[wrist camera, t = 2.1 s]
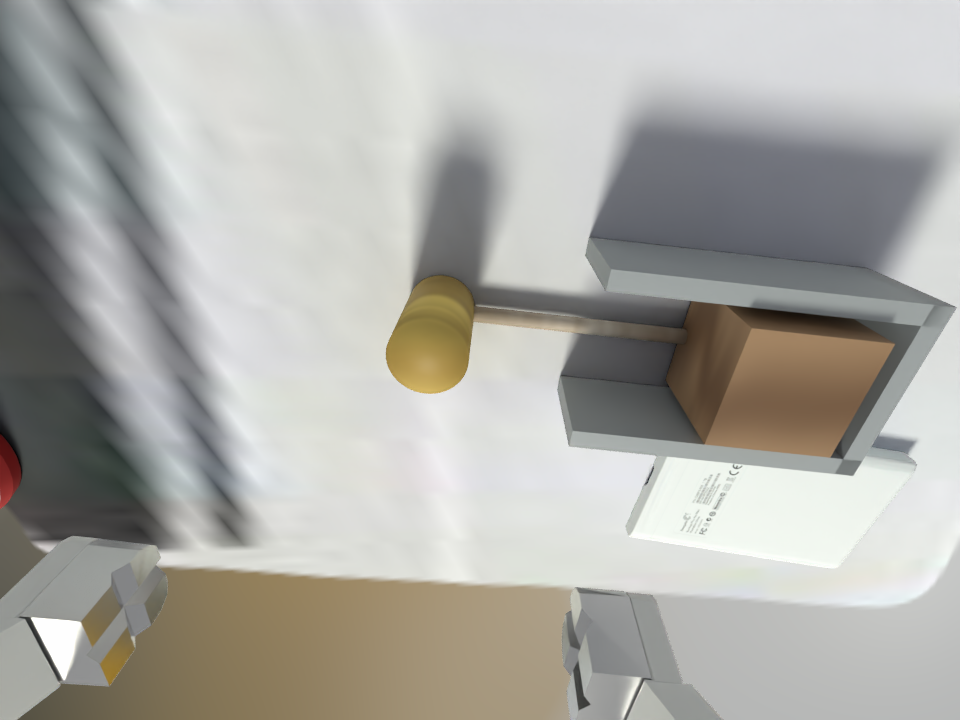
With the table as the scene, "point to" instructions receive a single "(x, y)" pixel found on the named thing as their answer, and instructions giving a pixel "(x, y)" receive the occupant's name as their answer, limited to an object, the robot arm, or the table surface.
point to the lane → (757, 284)
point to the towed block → (683, 363)
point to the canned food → (8, 472)
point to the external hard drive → (767, 507)
